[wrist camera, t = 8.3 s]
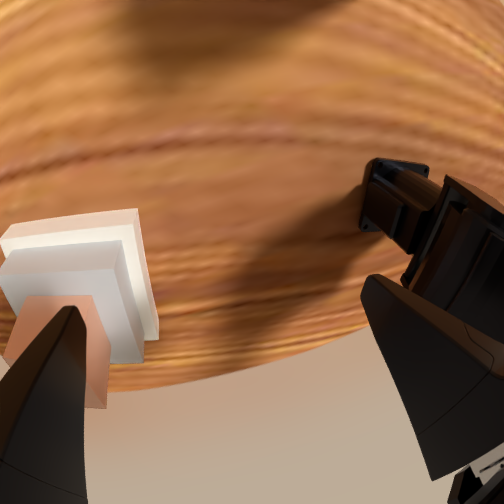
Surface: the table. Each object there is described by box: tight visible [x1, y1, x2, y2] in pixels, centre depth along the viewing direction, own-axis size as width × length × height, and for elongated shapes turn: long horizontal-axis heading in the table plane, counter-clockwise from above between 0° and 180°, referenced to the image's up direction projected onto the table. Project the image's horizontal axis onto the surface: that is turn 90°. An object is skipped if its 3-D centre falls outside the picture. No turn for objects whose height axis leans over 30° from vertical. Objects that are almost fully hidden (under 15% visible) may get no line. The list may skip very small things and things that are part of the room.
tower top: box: [0, 240, 145, 364], centre depth 17 cm, size 9×9×3 cm
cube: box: [3, 295, 111, 409], centre depth 13 cm, size 5×5×5 cm
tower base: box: [0, 208, 159, 341], centre depth 19 cm, size 11×11×3 cm
